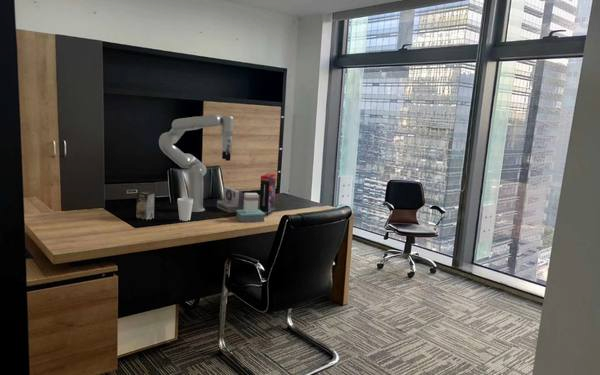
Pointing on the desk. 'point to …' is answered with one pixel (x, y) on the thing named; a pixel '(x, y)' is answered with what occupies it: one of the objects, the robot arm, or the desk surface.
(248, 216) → the podium
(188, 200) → the foam cup
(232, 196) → the instant camera
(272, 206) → the graphics card box
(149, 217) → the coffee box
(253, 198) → the carton
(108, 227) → the desk surface
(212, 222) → the desk surface
